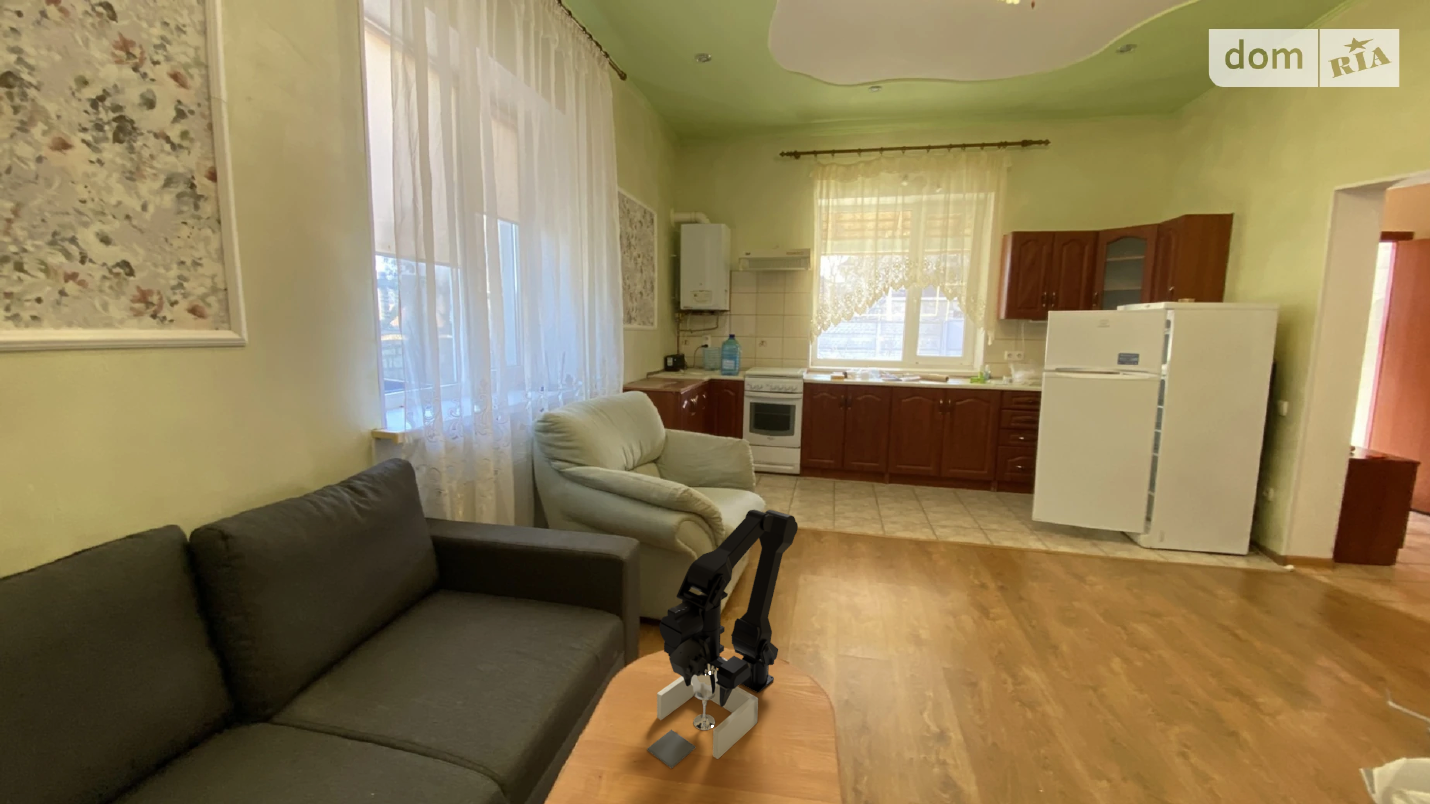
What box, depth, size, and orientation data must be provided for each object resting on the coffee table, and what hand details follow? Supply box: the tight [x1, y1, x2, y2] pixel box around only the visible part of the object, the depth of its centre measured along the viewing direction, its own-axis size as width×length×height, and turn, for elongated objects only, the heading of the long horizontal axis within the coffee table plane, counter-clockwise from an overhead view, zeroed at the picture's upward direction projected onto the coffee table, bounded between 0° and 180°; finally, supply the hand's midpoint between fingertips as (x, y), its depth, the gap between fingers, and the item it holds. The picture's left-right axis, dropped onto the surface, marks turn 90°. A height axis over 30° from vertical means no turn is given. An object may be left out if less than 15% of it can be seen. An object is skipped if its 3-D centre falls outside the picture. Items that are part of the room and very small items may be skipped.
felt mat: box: [646, 729, 696, 769], centre depth 103 cm, size 6×6×1 cm
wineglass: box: [691, 664, 719, 731], centre depth 110 cm, size 6×6×12 cm
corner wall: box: [656, 675, 759, 760], centre depth 111 cm, size 13×16×6 cm
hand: (705, 695), depth 110 cm, fingers open, 9 cm apart
